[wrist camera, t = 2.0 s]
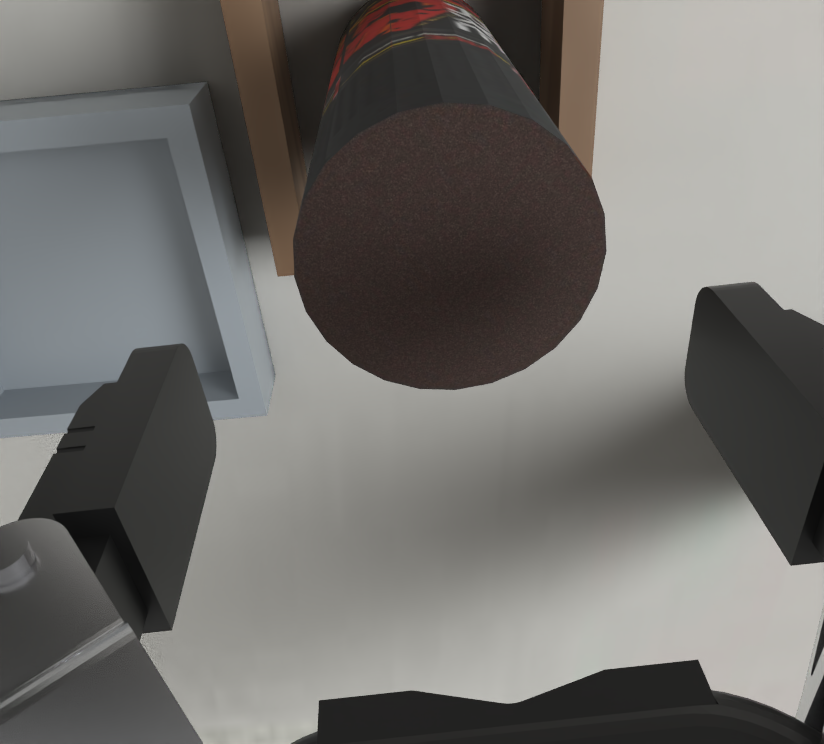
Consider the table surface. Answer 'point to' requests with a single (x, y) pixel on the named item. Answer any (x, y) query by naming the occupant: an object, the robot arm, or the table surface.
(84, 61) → the table surface
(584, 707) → the robot arm
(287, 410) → the table surface
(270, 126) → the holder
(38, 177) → the tray
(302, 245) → the deodorant
